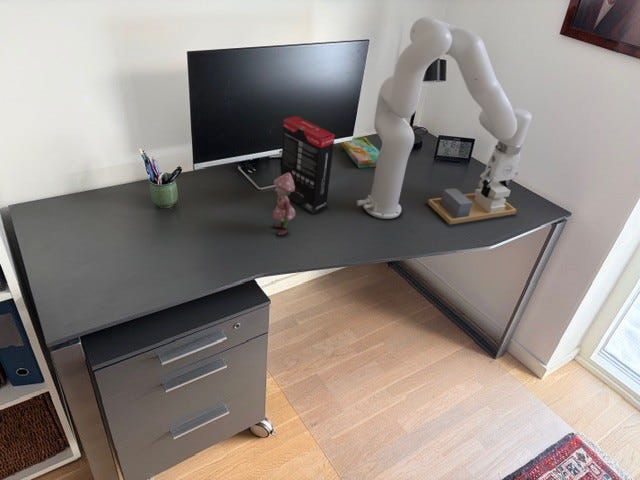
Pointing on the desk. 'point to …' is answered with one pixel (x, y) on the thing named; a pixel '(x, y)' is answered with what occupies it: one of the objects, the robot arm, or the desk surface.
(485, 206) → the white book
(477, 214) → the desk tray
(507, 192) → the white rectangular lid
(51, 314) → the desk surface
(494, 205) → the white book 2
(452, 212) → the blue-gray box
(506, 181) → the robot arm
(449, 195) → the grey book
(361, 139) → the puzzle game
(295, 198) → the graphics card box
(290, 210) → the cartoon character
